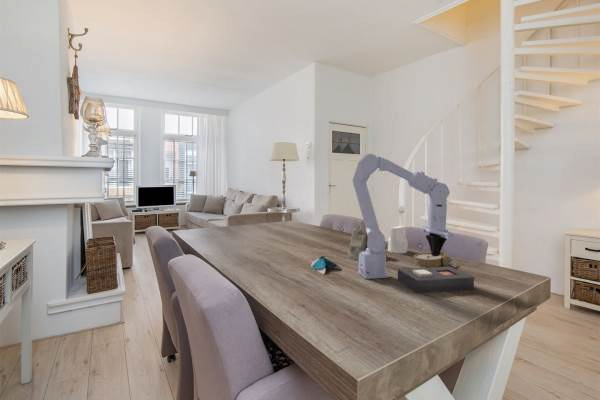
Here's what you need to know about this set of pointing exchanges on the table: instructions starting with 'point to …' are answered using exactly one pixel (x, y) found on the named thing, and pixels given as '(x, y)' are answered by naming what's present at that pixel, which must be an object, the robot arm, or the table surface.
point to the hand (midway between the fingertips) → (435, 255)
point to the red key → (446, 273)
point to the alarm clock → (431, 260)
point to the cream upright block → (398, 240)
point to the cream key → (422, 273)
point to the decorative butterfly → (323, 264)
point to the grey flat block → (436, 280)
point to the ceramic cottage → (358, 243)
